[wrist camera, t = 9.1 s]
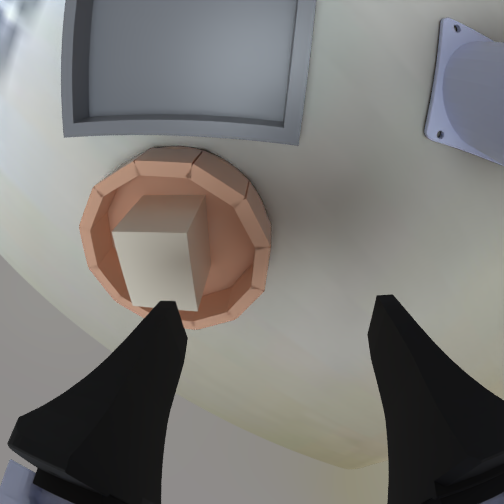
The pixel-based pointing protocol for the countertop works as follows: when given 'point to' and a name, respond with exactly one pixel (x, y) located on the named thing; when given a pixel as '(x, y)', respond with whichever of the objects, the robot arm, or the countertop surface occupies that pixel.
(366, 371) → the countertop surface
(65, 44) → the parts tray
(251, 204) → the bowl
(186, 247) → the stone block
